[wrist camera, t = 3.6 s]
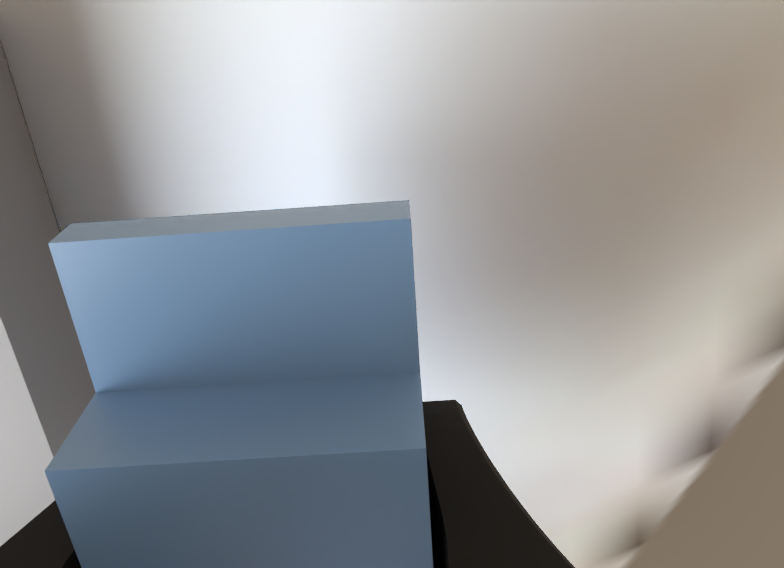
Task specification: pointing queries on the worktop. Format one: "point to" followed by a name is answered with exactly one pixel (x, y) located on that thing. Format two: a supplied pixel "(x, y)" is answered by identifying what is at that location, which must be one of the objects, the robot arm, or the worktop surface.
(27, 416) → the chassis
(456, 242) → the worktop surface
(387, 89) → the worktop surface
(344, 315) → the servo
